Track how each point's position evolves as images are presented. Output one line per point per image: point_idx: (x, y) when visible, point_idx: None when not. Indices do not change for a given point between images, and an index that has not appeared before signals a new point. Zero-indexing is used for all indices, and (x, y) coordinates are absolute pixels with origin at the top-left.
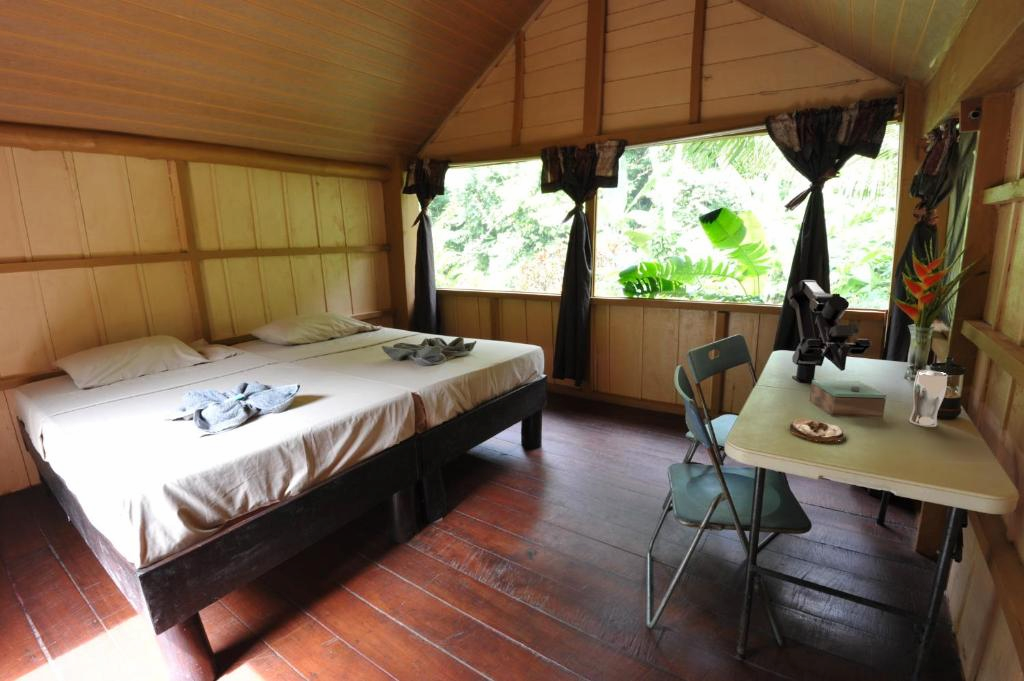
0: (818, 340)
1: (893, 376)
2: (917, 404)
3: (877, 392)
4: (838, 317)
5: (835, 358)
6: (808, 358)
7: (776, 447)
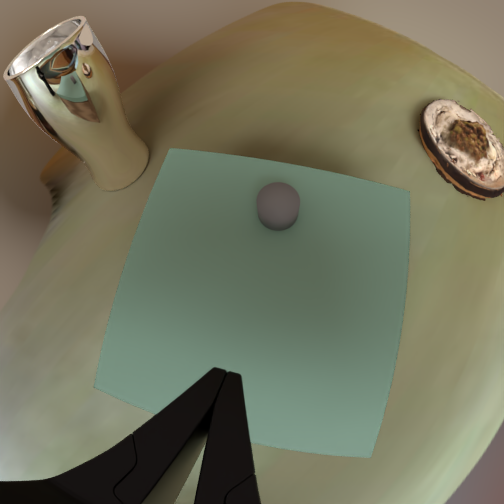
0: None
1: None
2: (123, 118)
3: (177, 179)
4: None
5: (254, 499)
6: None
7: None
